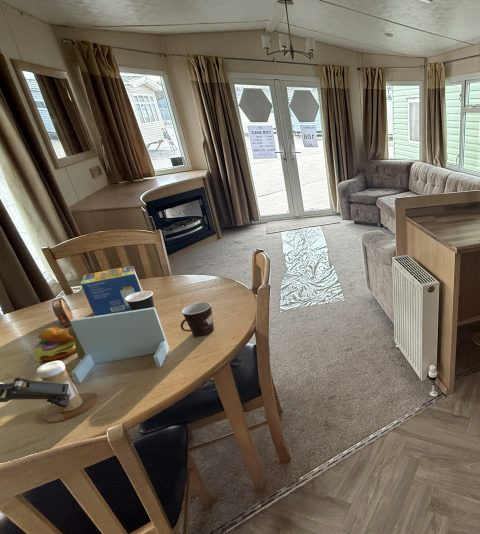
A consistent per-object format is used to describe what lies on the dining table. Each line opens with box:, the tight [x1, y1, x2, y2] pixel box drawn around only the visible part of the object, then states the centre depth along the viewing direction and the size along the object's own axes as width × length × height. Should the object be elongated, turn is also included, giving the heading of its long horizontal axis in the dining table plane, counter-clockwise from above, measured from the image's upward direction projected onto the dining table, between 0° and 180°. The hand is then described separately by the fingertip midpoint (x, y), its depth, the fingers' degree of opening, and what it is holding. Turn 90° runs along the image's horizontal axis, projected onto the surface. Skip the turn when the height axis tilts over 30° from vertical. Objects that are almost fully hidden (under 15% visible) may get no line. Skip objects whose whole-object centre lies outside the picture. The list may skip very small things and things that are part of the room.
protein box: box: [80, 265, 143, 316], centre depth 133 cm, size 10×15×16 cm
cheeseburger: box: [34, 326, 77, 363], centre depth 109 cm, size 10×11×10 cm
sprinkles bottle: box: [36, 360, 83, 412], centre depth 87 cm, size 5×5×14 cm
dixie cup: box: [125, 290, 155, 311], centre depth 126 cm, size 8×8×11 cm
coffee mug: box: [180, 301, 215, 338], centre depth 119 cm, size 12×9×10 cm
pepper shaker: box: [68, 325, 86, 360], centre depth 108 cm, size 6×6×11 cm
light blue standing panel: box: [70, 306, 170, 385], centre depth 102 cm, size 20×10×16 cm, turn 114°
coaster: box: [43, 391, 99, 423], centre depth 90 cm, size 10×10×1 cm
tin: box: [51, 296, 74, 327], centre depth 125 cm, size 15×3×8 cm, turn 46°
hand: (26, 409), depth 76 cm, fingers open, 13 cm apart
